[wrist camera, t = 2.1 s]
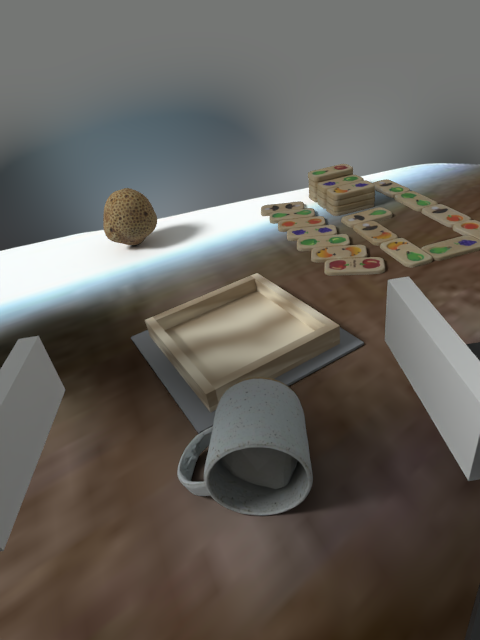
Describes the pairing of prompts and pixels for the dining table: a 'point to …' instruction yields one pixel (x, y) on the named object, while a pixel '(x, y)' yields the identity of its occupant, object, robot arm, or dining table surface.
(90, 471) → the dining table surface
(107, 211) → the natural sponge
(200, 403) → the mat
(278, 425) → the ceramic mug
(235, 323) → the tray
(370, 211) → the pile of dominoes
